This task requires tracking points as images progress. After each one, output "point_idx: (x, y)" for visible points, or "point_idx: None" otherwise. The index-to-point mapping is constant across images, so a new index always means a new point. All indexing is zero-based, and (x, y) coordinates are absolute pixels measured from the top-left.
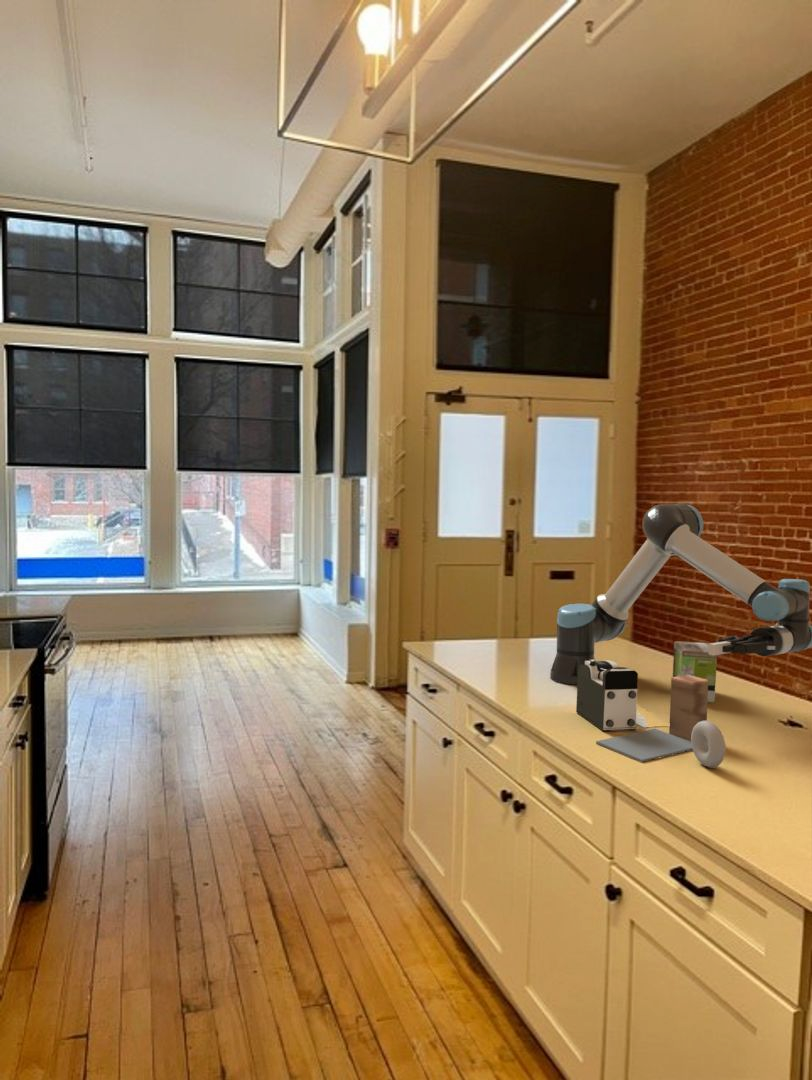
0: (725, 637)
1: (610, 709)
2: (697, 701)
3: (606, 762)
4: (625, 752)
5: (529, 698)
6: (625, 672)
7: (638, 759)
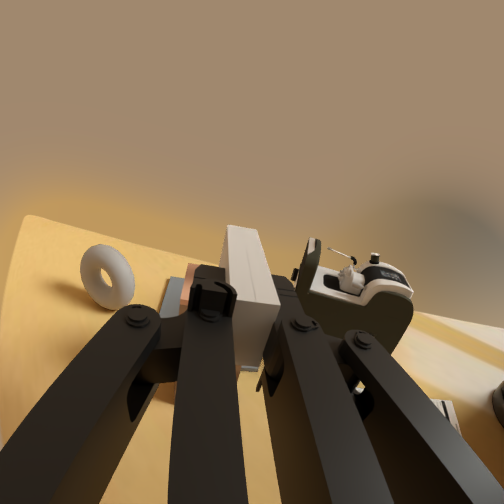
0: (454, 429)
1: None
2: None
3: None
4: None
5: (426, 335)
6: (307, 250)
7: (176, 278)
